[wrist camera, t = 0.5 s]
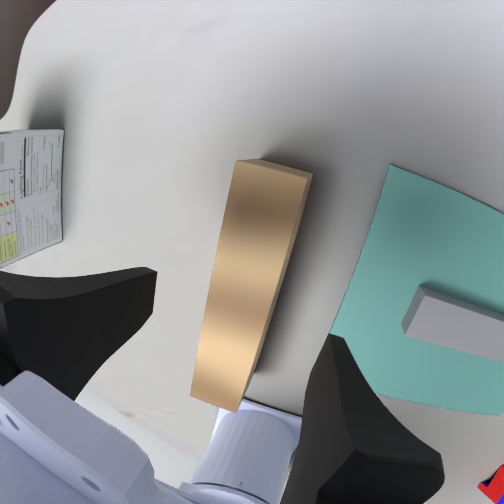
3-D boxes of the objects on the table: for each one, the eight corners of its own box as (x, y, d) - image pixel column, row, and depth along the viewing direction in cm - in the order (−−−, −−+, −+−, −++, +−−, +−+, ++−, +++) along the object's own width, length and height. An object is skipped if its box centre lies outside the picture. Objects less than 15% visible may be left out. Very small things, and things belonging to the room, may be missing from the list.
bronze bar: (254, 371, 24) (236, 413, 20) (214, 357, 25) (190, 395, 20) (313, 173, 19) (306, 179, 14) (260, 159, 19) (236, 160, 15)
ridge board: (497, 413, 20) (503, 427, 18) (310, 372, 23) (307, 389, 21) (583, 261, 14) (596, 270, 12) (388, 164, 17) (395, 165, 15)
